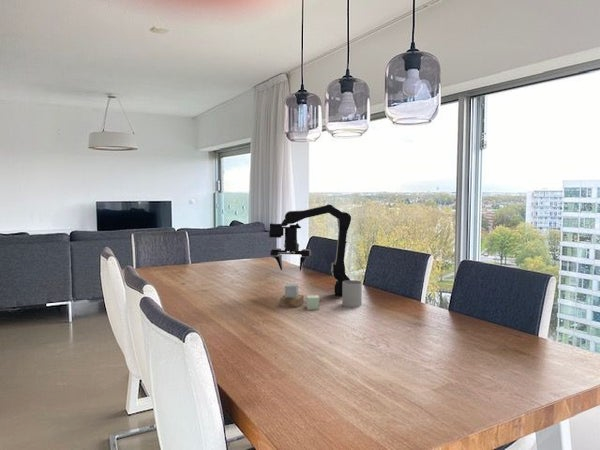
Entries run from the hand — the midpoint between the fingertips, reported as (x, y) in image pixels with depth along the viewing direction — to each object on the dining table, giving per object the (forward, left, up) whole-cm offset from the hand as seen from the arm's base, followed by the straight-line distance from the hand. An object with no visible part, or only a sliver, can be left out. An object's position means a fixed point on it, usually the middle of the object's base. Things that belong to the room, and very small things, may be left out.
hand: (290, 270), depth 223 cm
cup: (-30, +12, -12) cm, 35 cm away
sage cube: (-14, +21, -12) cm, 28 cm away
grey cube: (-4, +17, -8) cm, 19 cm away
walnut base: (-4, +17, -12) cm, 21 cm away
